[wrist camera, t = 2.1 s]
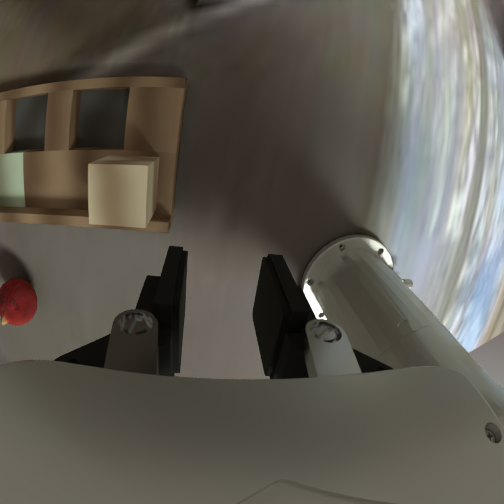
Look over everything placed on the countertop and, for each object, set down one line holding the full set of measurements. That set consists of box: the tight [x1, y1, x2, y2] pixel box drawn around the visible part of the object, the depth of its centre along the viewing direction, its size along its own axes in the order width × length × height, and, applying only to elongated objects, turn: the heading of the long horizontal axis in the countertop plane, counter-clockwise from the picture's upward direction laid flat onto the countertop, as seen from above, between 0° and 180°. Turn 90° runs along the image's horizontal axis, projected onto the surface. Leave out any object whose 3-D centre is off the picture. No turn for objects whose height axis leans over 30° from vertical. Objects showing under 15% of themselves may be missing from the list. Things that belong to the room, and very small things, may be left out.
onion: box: [0, 278, 37, 325], centre depth 27 cm, size 6×6×8 cm
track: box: [0, 77, 188, 233], centre depth 23 cm, size 24×14×6 cm, turn 81°
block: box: [88, 155, 160, 228], centre depth 23 cm, size 5×5×5 cm
